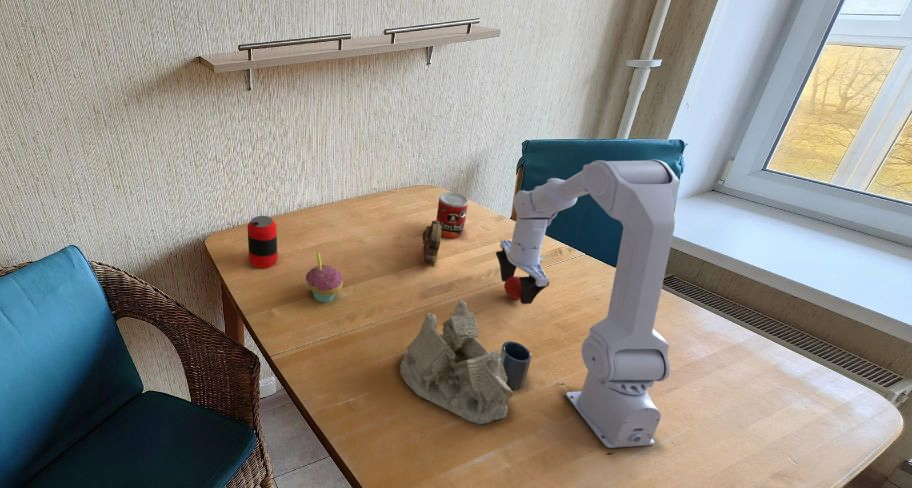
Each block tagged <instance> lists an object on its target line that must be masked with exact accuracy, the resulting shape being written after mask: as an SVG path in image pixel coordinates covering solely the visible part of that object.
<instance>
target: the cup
mask: <svg viewBox="0 0 912 488" xmlns="http://www.w3.org/2000/svg"><path fill="white" fill-rule="evenodd" d="M499 354H500V357H501V360H502V364H503V367H504V370H505V373H506V376H507V377H508V378H507V382H506V384H507V386H508V387H509V388H510V389H514V390H518V389H522V388H524V386H525V383H526V380H527V377H528V371H529V368H530V364H531V360H532V353H531V351H530V350H529V349H528V348H527V347H526V346H525V345H523V344H522V343H519V342H516V341H510V340H509V341H505V342H503V344H502V346H501V349H500V352H499Z"/></svg>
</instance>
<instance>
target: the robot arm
mask: <svg viewBox="0 0 912 488" xmlns="http://www.w3.org/2000/svg"><path fill="white" fill-rule="evenodd" d="M680 183H681V181H680V179H679V178H678V177H677V175H676V174H675V172H674V171H673V170H672V168H671V167H670V166H669V165H668V164H667V162H664V161H663V160H660V159H655V158H654V159H647V160H602V159H597V160H594V161H592V162H591V163H587V164H584V165H583V167H582V170H581V171H579V172H577V173H576V174H574V175H572V176H571V177H569V178H568V179H560V178H558V177H550V178H548V179H547V180H546V183H545V184H542V185H537V186H534V189H533V190H529V191H527V190H518V192H517V193H516V194H515V196H514V199H513V208H514V211H515V213H516V219H515V223H514V229H513V232H512V233H513V234H512V238H511V240H510V239H500V245H499V248H500V249H501V250H498V251H495V255H496V258H497V260H498V264H499V269H500V279H501V281H502V282H504V283H505V281H506V280H507V279H508V278H510V277H513V276H515V274H516V273H515V272H516V270H517V268H518V269H519V270H521V271H523V272H524V273H526V274H527V275H528V276H518V277H519V280H520V283H521V296H520V299H519V300H520V303H521V304H522V305H531V304H532V303H533V301H534V299H536V297H537V296H538V295H539V293H540V292H542V291H543V290H544V289H546V288H547V287H549V285H550V281H549V280H550V279H549V277H548V276H547V274H546V273H545V271H544V269H543V267H542V265H541V263H542V262H543V261H544V260H543V258H542V257H541V252H542V247H543V244H544V239H545V235H546V231H547V227H549V226H551V224H552V221H553V219H555V218H556V217H557V215H558V213H559V212H561V211H564V210H566V209H568V208H572V207H573V206H574V205H576V203H577V201H578V198H580V197H583V196H587V195H589V196H591V198H592V199H593V200H594V201H595V202H596V204H598V206H599V207H600V208H601V209H602V210H604V212H605V213H606V214H607V215H608V216H609V217H610V218H611V219H614V220H616V221H618V222H620V224H621V225H622V228H623V229H622V234H621V240H620V244H619V250H618V255H617V260H616V261H617V262H616V266H615V271H614V278H613V283H612V288H611V293H610V300H609V305H608V310H607V316H606V317H605V318H603V319H600V321H598V322H596V323H594V324H593V325H592V326H591V327H590V328H589V332H588V335H587V337H586V338H585V339H584V340H583V342H582V346H581V358H582V361H583V364H584V365H585V367H586V369H587V370H588V371H587V373H586V376H585V379H584V383H583V385H582V388H581V390H579V391H567V392H566V393H565V396H566V398H567V399H568V400H569V402H570V403H571V404H572V405H573V407H574V408H575V409H576V411H577V412H578V413H579V414H580V416H581V417H582V418H583V420H584V421H585V422H586V424H587V425H588V426H589V427H590V428H591V430H592V431H593V432H594V434H595V435H596V437H597V438H598V439H599V441H600V442H601V443H602V444H603V445H604V447H606V448H608V449H615V448H626V447H627V448H629V447H640V446H642V447H643V446H653V445H655V442H656V441H655V440H654V439H653V437H654V435H655V432H656V430H657V428H658V425H659V424H660V421H661V417H662V415H661V412H660V411H659V409H658V408H657V406H656V405H655V404H654V402H653V401H652V400H651V397H650V395H649V392H648V389H649V388H653V385H654V383H655V382H664V381H666V380H667V379H668V378H669V376H670V372H671V367H670V362H669V361H670V360H669V356H668V352H669V347H670V344H669V343H668V342H667V340H666V339H665V338H664V337H663V336H662V335H661V334H660V333H659V332H657V330H655V329H654V326H655V322H656V316H657V313H658V308H659V304H660V303H659V302H660V298H661V293H662V290H663V289H662V288H663V284H664V279H665V275H666V270H667V264H668V259H669V255H670V251H671V246H672V241H673V236H674V232H675V224H676V221H675V207H676V202H677V198H678V192H679V188H680Z"/></svg>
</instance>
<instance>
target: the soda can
mask: <svg viewBox="0 0 912 488" xmlns="http://www.w3.org/2000/svg"><path fill="white" fill-rule="evenodd" d="M246 229H247V243H248V244H247V247H248V260H249V261H248V262H249V263H250V264H251V265H252V266H253V267H255V268H258V269H268V268H270V267H273V266H274V265H275V264H276V263H277V261H278V239H277V238H278V235H277V233H278V232H277V231H278V229H277V223H276V222H275V220H274V219H273V218H271V217H270V216H268V215H257V216H254V217H253V218H252V219H251V220H250V221H249V222H248V224H247V228H246Z"/></svg>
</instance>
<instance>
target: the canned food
mask: <svg viewBox="0 0 912 488" xmlns="http://www.w3.org/2000/svg"><path fill="white" fill-rule="evenodd" d="M437 203H438V204H437V213H436V219H435V221H439V222H440V225H441V237H443V238H446V239H458V238H461V237H462V235H463V233H464V230H465V225H466V224H465V223H466V219H467V212H468V205H469V199H468V198H467V196H465V195H463V194H461V193H457V192H443V193H441V194H440V195H439V198H438V202H437Z"/></svg>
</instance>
